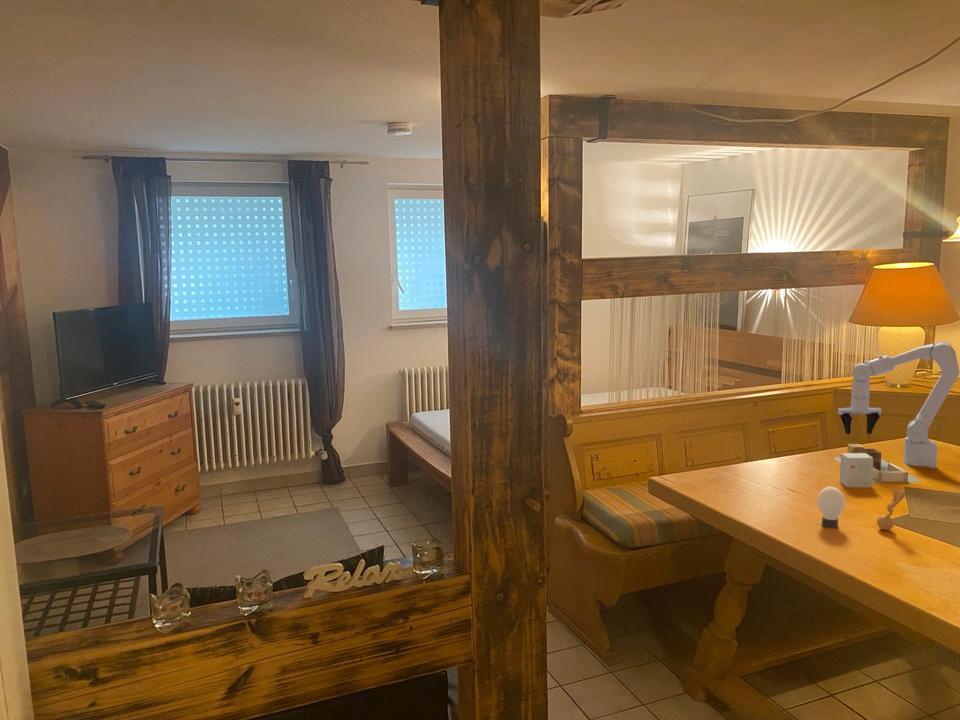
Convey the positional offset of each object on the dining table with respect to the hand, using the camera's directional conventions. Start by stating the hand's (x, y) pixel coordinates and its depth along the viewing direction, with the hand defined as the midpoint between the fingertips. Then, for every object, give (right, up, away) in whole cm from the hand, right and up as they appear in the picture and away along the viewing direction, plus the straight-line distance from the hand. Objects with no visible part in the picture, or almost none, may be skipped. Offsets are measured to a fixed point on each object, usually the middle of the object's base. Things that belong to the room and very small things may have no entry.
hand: (858, 433), depth 256 cm
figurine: (-27, -20, -65) cm, 73 cm away
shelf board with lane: (-2, -12, -14) cm, 18 cm away
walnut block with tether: (-2, -10, -7) cm, 12 cm away
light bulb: (-40, -19, -61) cm, 75 cm away
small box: (-17, -14, -29) cm, 37 cm away
